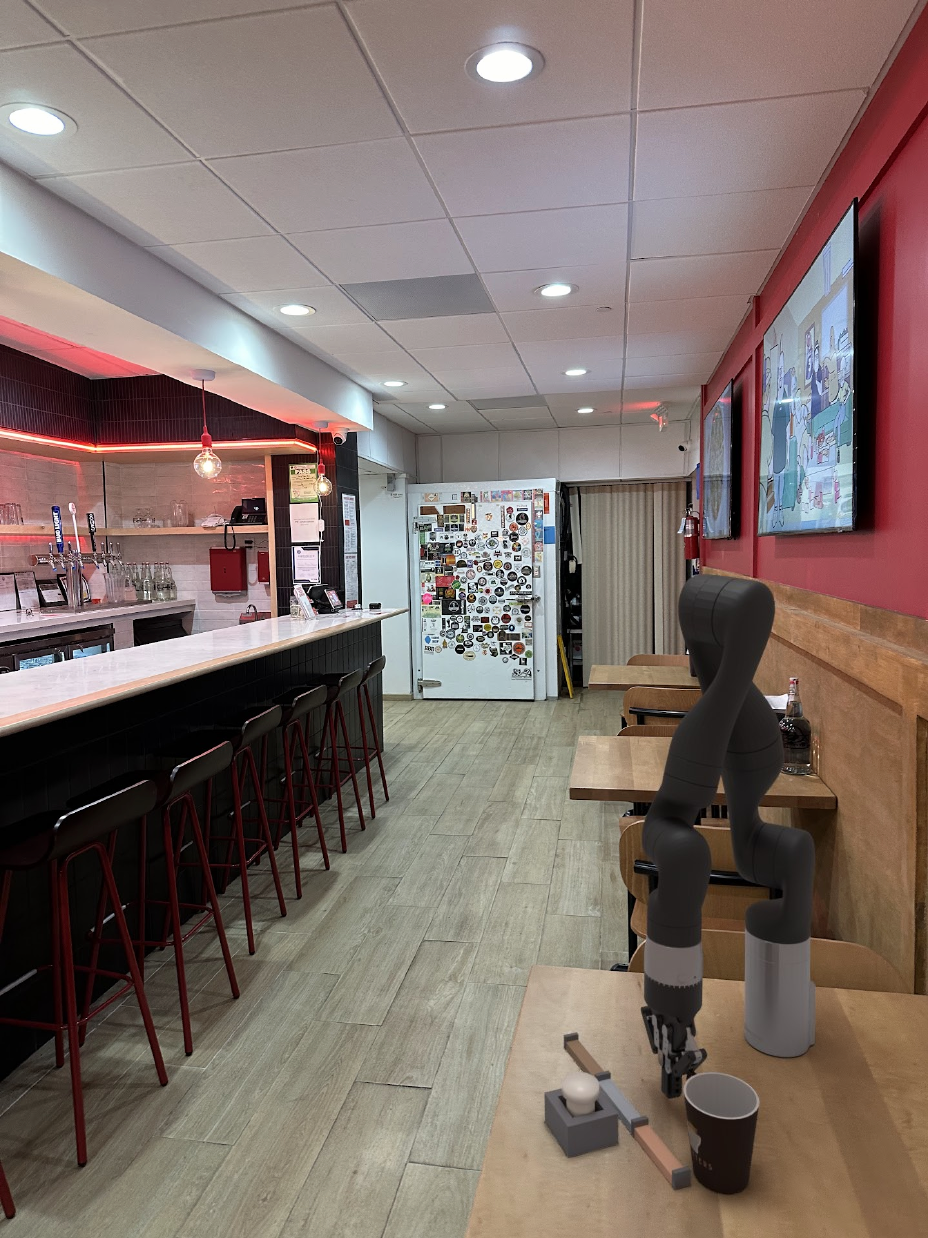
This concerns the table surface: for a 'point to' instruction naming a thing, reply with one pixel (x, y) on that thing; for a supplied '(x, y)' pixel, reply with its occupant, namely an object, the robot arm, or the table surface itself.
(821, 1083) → the table surface
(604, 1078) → the slate segment
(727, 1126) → the coffee mug
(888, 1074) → the table surface
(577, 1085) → the dome plunger
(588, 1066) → the walnut segment
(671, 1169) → the terracotta segment
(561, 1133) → the dome housing
